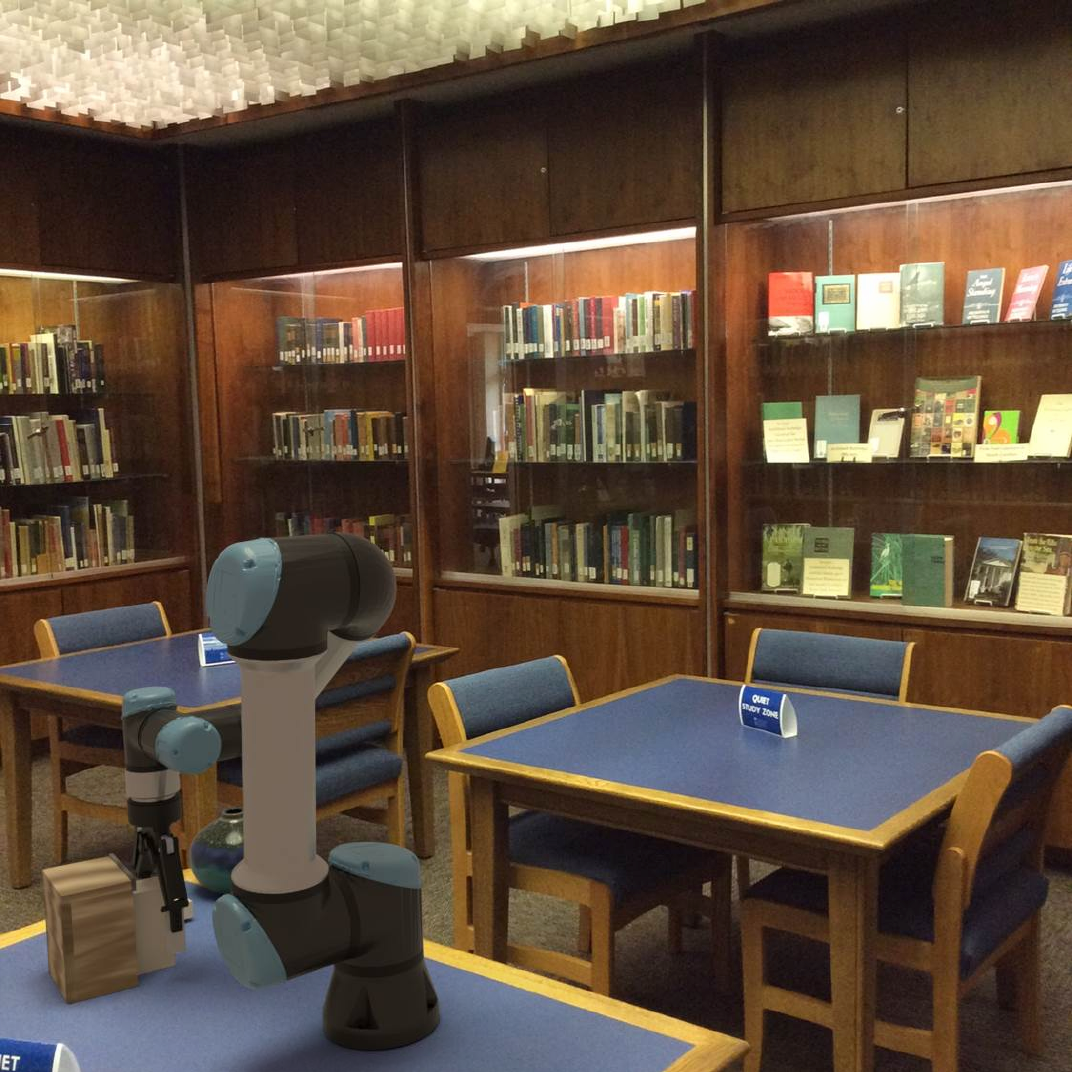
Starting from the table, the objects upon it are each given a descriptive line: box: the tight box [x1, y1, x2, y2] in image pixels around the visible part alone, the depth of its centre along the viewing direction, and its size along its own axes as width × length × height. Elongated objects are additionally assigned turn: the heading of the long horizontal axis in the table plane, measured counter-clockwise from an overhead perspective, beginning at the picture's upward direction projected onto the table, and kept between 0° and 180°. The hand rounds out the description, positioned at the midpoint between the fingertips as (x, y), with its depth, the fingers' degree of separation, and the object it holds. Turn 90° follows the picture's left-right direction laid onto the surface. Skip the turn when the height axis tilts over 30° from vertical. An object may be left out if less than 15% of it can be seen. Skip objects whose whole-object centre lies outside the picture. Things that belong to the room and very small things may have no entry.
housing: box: [41, 852, 139, 1005], centre depth 175 cm, size 13×10×16 cm
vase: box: [188, 806, 244, 895], centre depth 209 cm, size 15×15×13 cm
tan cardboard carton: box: [133, 875, 176, 976], centre depth 179 cm, size 5×10×12 cm, turn 123°
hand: (161, 936), depth 181 cm, fingers open, 13 cm apart
